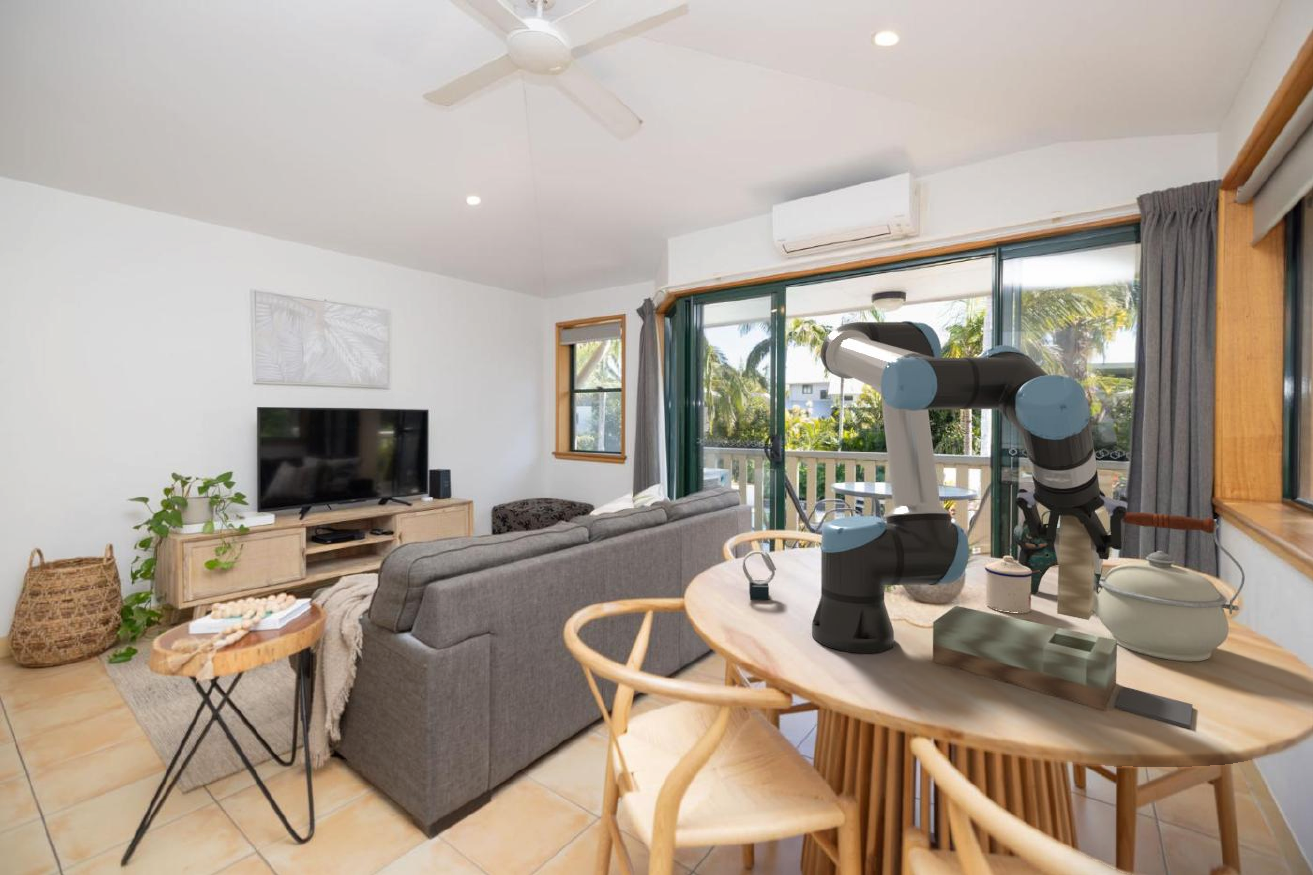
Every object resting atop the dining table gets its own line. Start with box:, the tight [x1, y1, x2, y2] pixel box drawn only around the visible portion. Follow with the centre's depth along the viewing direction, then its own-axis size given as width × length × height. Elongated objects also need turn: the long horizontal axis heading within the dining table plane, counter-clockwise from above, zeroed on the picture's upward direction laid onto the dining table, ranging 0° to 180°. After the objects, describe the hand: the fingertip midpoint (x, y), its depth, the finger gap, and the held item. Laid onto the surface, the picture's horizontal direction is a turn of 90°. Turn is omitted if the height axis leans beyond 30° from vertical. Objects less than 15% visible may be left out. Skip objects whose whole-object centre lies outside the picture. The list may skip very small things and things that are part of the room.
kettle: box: [1093, 512, 1246, 663], centre depth 106 cm, size 25×18×25 cm
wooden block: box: [1056, 515, 1094, 621], centre depth 89 cm, size 4×4×16 cm
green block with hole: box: [932, 605, 1118, 711], centre depth 95 cm, size 24×12×7 cm, turn 45°
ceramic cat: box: [1012, 510, 1103, 594], centre depth 139 cm, size 20×6×20 cm, turn 88°
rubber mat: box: [1115, 686, 1193, 730], centre depth 83 cm, size 8×8×1 cm
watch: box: [742, 549, 777, 601], centre depth 136 cm, size 6×8×11 cm
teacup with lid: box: [984, 555, 1033, 614], centre depth 128 cm, size 12×9×12 cm
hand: (1080, 563), depth 92 cm, fingers closed on wooden block, 4 cm apart
